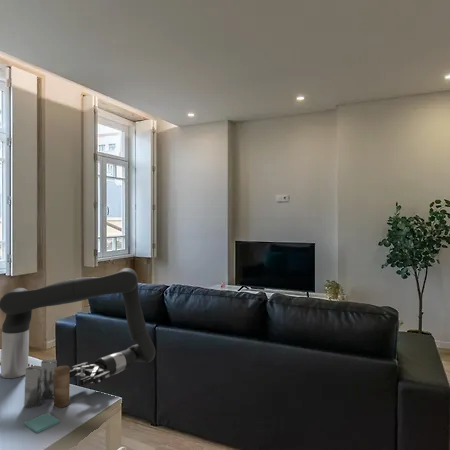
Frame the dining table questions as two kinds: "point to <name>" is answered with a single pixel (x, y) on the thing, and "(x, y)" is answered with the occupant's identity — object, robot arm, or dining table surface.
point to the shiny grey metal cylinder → (48, 378)
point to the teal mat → (42, 422)
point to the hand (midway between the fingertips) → (72, 379)
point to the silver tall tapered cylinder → (32, 386)
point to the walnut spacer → (61, 386)
